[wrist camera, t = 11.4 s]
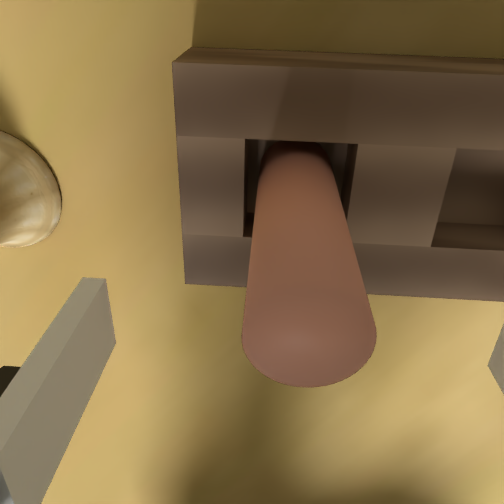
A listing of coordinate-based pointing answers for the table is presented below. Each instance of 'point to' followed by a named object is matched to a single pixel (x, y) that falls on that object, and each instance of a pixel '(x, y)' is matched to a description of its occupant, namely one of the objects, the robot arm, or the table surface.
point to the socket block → (350, 161)
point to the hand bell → (25, 195)
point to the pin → (304, 275)
